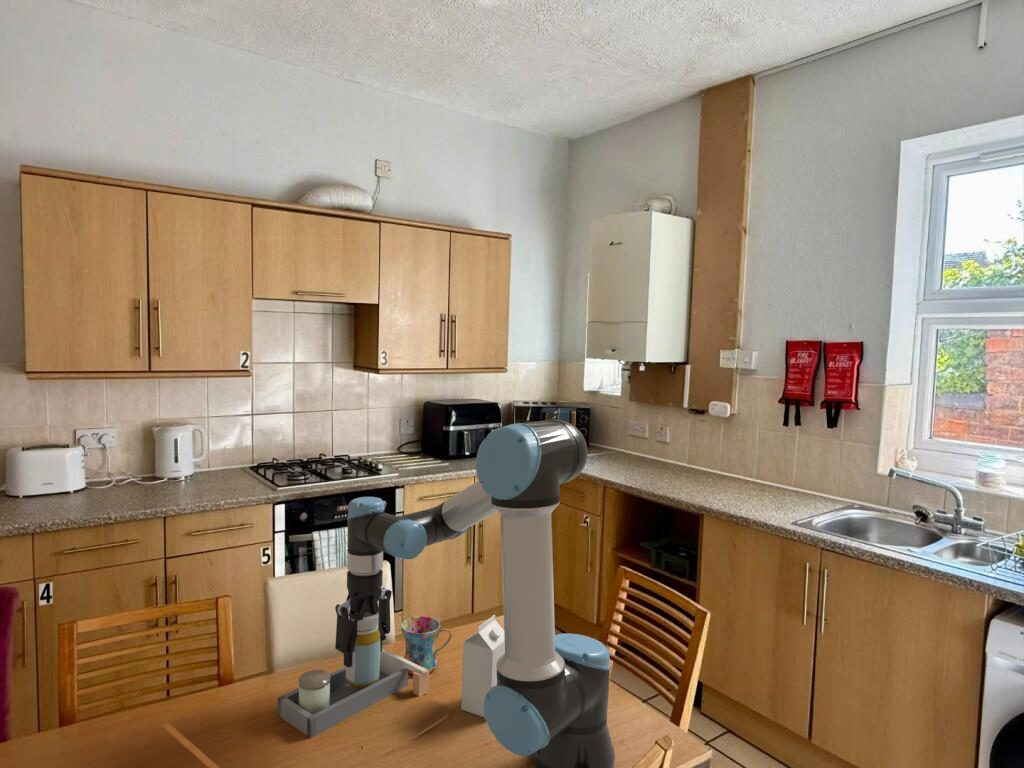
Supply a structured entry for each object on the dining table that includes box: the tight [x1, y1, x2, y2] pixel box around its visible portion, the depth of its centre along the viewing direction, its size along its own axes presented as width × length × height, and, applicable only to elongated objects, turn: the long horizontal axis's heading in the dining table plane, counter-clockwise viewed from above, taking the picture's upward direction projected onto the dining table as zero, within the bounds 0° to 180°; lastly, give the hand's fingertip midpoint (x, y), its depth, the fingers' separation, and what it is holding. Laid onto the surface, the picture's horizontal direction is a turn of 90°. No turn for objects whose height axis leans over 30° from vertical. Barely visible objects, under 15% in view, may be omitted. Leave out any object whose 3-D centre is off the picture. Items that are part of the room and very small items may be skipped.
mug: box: [400, 615, 452, 675], centre depth 152 cm, size 12×9×11 cm
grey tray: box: [277, 666, 409, 739], centre depth 136 cm, size 11×25×4 cm, turn 142°
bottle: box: [347, 612, 380, 689], centre depth 139 cm, size 7×7×15 cm
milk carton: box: [461, 614, 505, 719], centre depth 136 cm, size 7×7×19 cm
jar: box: [297, 669, 331, 715], centre depth 130 cm, size 6×6×8 cm
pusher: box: [380, 647, 431, 697], centre depth 144 cm, size 15×3×5 cm, turn 52°
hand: (363, 673), depth 139 cm, fingers closed on bottle, 6 cm apart
